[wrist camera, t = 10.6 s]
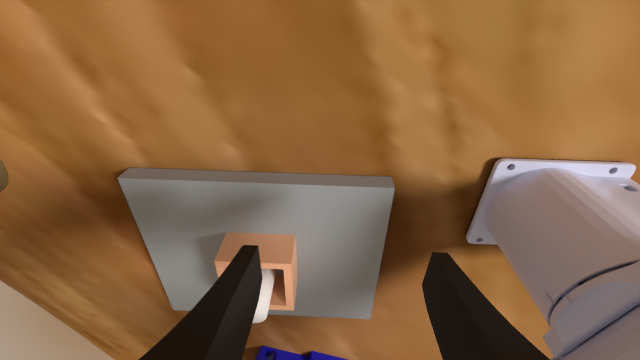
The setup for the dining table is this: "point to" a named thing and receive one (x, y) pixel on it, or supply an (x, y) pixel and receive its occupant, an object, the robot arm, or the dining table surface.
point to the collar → (267, 262)
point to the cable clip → (290, 355)
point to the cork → (3, 176)
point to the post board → (265, 232)
